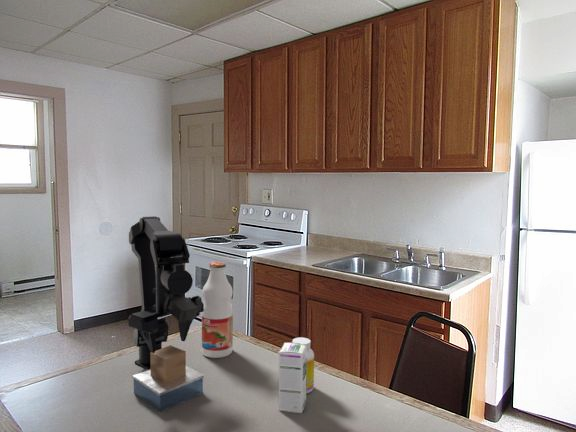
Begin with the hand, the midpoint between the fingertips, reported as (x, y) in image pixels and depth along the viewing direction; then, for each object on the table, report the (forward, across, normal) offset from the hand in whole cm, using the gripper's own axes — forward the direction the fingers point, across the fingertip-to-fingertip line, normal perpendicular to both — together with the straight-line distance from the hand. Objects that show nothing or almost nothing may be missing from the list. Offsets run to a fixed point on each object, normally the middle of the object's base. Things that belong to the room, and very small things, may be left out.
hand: (168, 346), depth 105 cm
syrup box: (+12, +14, -28) cm, 34 cm away
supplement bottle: (+12, +22, -25) cm, 35 cm away
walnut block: (+7, 0, 0) cm, 7 cm away
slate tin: (+12, 0, 0) cm, 12 cm away
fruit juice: (+12, +25, +8) cm, 29 cm away
